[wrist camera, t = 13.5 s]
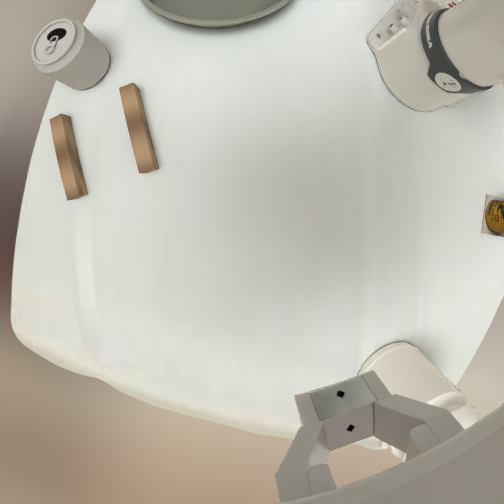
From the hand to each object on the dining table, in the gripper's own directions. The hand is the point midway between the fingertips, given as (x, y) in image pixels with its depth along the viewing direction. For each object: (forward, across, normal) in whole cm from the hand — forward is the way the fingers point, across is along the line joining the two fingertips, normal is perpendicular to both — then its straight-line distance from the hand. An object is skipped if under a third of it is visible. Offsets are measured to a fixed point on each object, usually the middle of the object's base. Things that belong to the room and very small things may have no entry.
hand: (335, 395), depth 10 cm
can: (+34, +17, -30) cm, 48 cm away
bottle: (+34, -18, +32) cm, 50 cm away
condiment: (+34, -46, +9) cm, 58 cm away
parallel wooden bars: (+34, +16, -17) cm, 41 cm away
